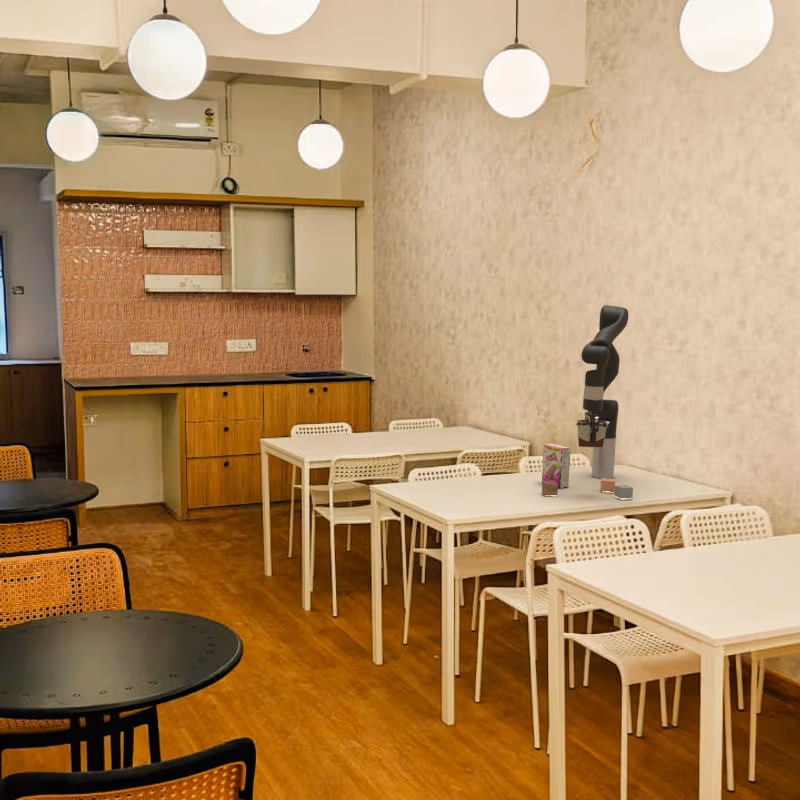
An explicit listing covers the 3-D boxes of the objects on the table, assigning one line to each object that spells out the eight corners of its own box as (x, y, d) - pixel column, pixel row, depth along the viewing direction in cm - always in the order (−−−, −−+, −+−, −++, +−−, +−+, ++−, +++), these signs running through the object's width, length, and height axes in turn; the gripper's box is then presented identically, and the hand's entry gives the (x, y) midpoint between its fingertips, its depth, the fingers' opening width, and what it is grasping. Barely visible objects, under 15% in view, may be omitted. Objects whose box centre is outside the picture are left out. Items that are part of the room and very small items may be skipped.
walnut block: (541, 493, 394) (542, 481, 394) (554, 494, 395) (555, 481, 394) (544, 496, 389) (545, 484, 389) (557, 496, 390) (557, 484, 389)
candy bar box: (540, 483, 413) (543, 444, 411) (550, 482, 416) (552, 443, 414) (559, 488, 404) (562, 448, 402) (569, 487, 407) (571, 447, 405)
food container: (605, 445, 394) (606, 420, 392) (607, 448, 388) (608, 422, 386) (573, 443, 395) (574, 418, 393) (574, 446, 389) (576, 421, 387)
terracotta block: (600, 490, 404) (601, 478, 404) (613, 491, 404) (613, 478, 403) (601, 493, 399) (602, 480, 399) (614, 493, 399) (615, 481, 398)
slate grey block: (614, 497, 391) (614, 485, 391) (625, 497, 393) (626, 484, 392) (620, 500, 387) (621, 487, 386) (632, 500, 388) (633, 487, 388)
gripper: (579, 395, 395) (576, 437, 397) (588, 399, 381) (585, 444, 383) (598, 395, 395) (595, 438, 398) (607, 400, 381) (605, 444, 383)
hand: (590, 440), depth 390 cm, fingers closed on food container, 5 cm apart
